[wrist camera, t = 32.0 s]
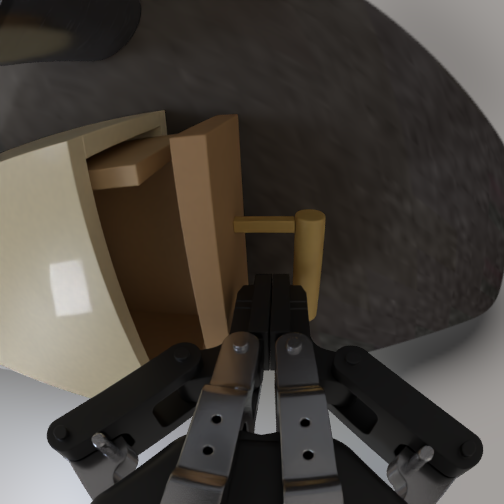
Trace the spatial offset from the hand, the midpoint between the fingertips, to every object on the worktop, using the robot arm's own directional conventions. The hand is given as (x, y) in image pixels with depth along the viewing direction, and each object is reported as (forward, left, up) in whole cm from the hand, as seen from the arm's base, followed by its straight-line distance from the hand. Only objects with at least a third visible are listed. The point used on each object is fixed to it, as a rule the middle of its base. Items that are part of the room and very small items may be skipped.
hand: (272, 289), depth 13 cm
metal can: (-15, -10, -6) cm, 19 cm away
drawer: (0, -8, -6) cm, 10 cm away
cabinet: (0, -15, -6) cm, 16 cm away
